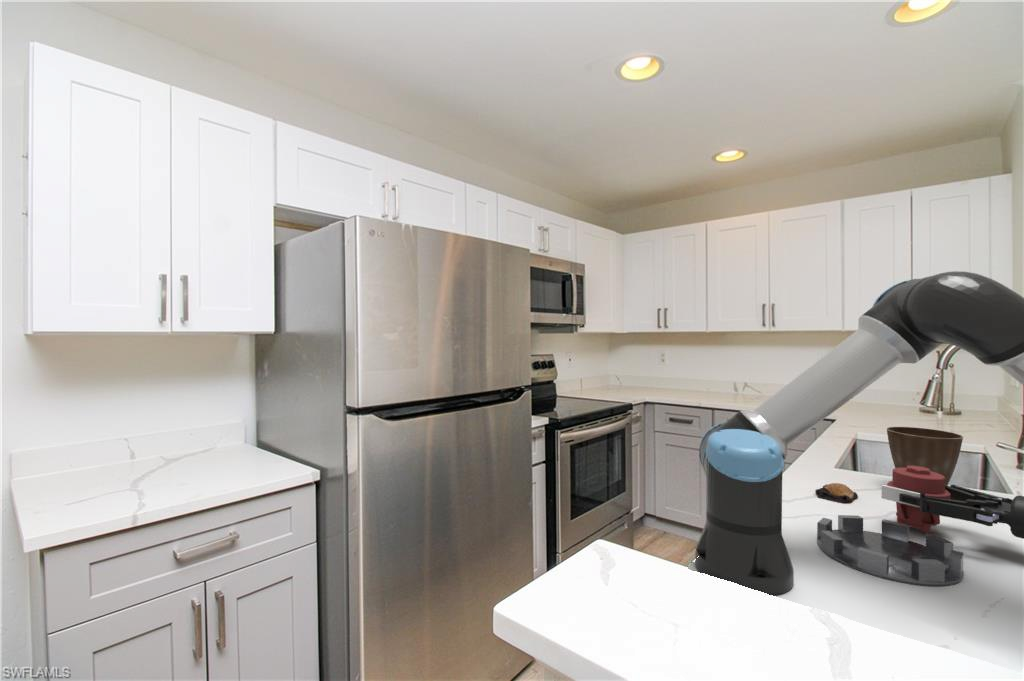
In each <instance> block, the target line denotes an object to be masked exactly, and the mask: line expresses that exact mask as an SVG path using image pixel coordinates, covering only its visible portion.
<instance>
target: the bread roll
mask: <svg viewBox="0 0 1024 681" xmlns="http://www.w3.org/2000/svg"><path fill="white" fill-rule="evenodd" d="M814 492H815V495H816V497H817V498H818V499H821V500H826V501H830V502H834V503H839V504H846V505H847V504H849V505H851V504H852V503H854V502H855V501H856V500H857V499H859V498H858V497H859V496H858V493H857V492H855V491H854V490H852V489H851V488H850V487H849V486H847V485H846V484H843V483H838V482H836V483H835V482H831V483H828V484H824V485H823V486H822V487H820V488H817V489H815V491H814Z"/></svg>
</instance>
